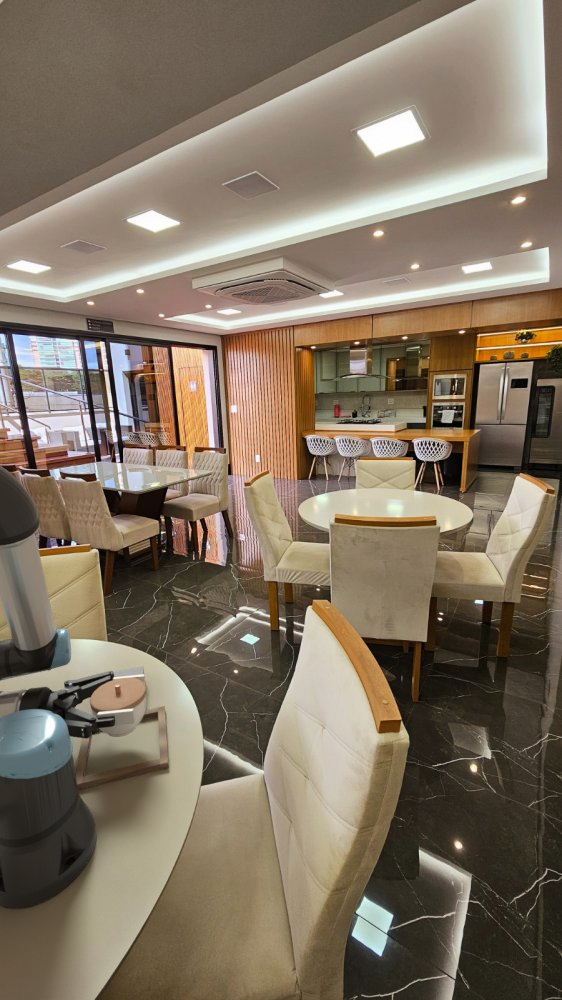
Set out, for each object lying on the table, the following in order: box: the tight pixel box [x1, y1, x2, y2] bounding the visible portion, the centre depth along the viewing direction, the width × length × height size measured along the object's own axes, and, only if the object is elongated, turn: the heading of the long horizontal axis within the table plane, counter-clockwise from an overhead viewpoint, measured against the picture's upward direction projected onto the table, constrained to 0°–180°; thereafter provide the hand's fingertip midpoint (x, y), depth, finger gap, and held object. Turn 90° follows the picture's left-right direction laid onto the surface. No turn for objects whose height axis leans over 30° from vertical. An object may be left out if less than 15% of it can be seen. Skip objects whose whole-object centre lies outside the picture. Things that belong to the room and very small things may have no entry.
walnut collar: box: [75, 705, 169, 791], centre depth 90 cm, size 17×17×1 cm
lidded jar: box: [89, 678, 147, 738], centre depth 89 cm, size 11×11×9 cm
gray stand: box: [107, 666, 145, 677], centre depth 106 cm, size 10×10×4 cm
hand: (139, 697), depth 89 cm, fingers closed on lidded jar, 11 cm apart
